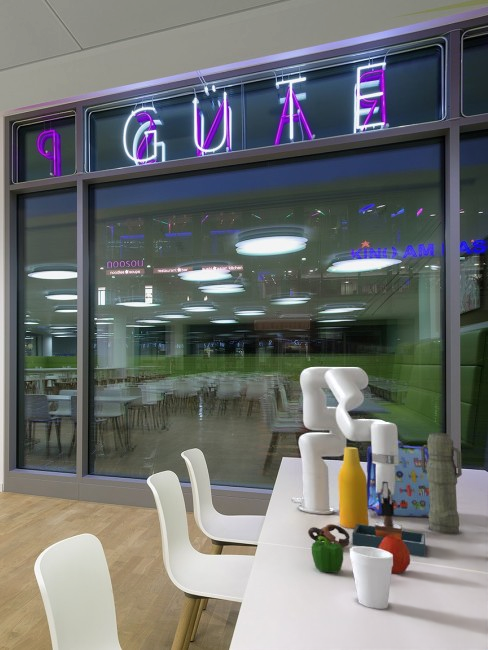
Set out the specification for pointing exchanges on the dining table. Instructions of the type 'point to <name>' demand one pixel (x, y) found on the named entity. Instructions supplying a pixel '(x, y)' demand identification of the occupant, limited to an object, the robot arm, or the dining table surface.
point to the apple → (396, 553)
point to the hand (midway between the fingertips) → (387, 514)
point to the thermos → (442, 482)
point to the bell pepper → (327, 555)
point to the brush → (388, 528)
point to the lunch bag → (403, 483)
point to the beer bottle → (352, 491)
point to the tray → (368, 538)
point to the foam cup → (372, 575)
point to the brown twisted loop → (326, 533)
